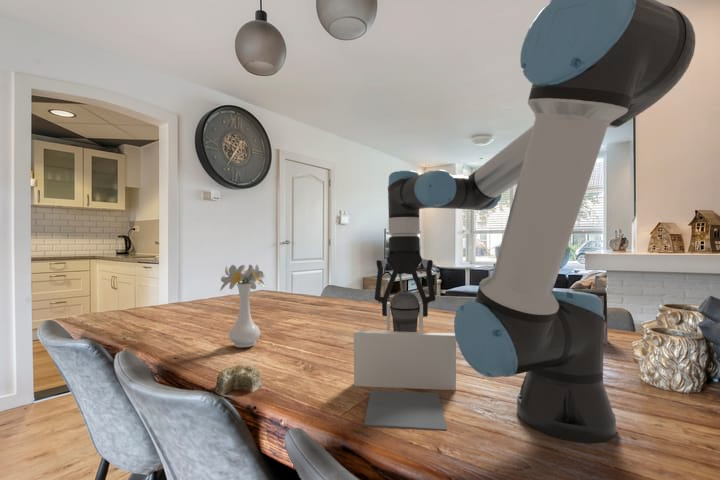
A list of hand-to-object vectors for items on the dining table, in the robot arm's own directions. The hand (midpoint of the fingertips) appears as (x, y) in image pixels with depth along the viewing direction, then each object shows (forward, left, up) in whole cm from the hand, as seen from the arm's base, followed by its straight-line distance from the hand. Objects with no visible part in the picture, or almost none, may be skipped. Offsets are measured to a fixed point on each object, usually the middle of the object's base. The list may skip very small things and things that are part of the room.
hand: (404, 329), depth 87 cm
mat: (-17, +10, -11) cm, 22 cm away
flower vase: (+40, +34, -11) cm, 54 cm away
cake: (+7, +38, -11) cm, 40 cm away
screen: (-7, +4, -11) cm, 14 cm away
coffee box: (+1, -69, -11) cm, 70 cm away
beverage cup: (0, 0, -6) cm, 6 cm away
